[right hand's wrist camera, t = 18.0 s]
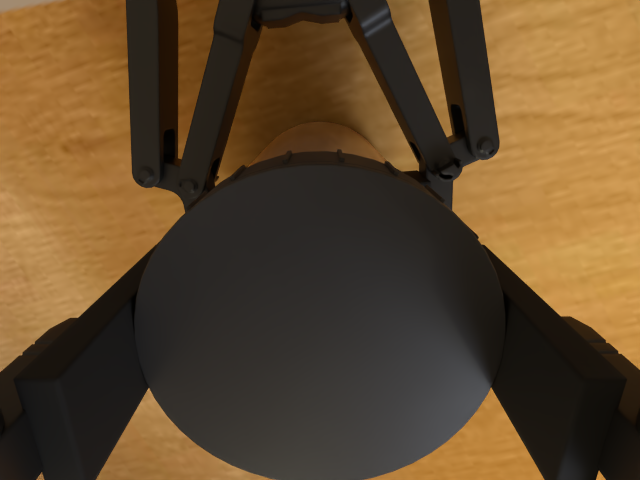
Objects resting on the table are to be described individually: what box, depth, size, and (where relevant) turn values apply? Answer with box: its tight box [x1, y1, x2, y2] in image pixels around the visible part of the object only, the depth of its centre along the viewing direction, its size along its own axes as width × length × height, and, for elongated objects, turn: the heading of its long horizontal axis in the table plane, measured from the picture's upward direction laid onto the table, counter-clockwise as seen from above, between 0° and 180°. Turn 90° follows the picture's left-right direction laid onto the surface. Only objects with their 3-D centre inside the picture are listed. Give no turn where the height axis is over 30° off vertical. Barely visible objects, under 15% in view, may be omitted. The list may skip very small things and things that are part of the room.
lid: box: [134, 149, 506, 480], centre depth 11 cm, size 9×9×2 cm
